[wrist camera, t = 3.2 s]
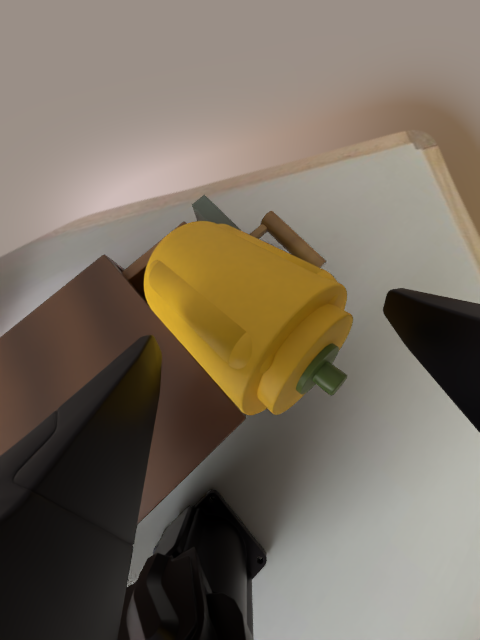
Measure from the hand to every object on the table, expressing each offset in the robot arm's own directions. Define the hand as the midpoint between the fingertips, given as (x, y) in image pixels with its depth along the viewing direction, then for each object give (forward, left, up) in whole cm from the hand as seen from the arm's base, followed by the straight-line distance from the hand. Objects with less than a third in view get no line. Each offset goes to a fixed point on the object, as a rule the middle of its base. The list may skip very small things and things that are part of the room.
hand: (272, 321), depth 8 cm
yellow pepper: (+6, +1, -5) cm, 8 cm away
